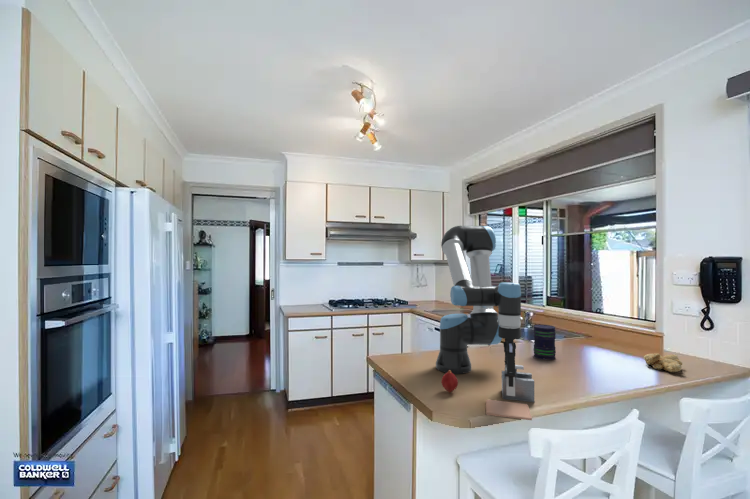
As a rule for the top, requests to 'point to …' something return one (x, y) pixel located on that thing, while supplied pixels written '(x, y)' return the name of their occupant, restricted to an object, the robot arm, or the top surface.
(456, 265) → the robot arm
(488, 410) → the tile
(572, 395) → the top surface
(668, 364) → the ginger root
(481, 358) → the top surface
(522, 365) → the post stand
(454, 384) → the onion
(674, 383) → the top surface
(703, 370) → the top surface
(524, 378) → the c link
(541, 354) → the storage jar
